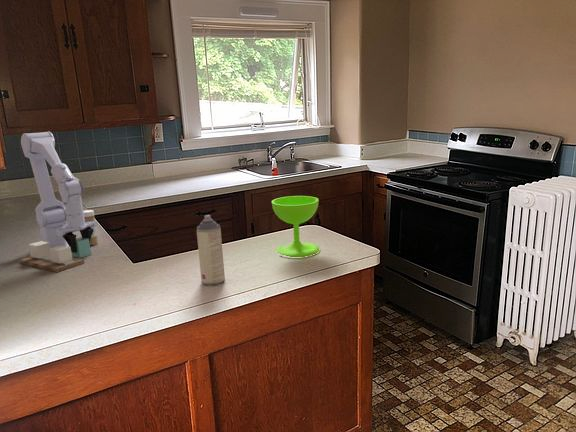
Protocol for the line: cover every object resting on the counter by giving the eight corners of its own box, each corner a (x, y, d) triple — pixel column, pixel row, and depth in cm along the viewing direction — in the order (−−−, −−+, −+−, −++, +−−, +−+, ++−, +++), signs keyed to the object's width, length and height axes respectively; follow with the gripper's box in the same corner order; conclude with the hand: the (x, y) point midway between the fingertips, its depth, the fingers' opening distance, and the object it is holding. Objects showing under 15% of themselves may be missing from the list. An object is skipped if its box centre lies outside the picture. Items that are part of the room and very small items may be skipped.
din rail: (29, 257, 166) (29, 255, 166) (39, 254, 169) (39, 252, 169) (65, 265, 155) (64, 263, 155) (74, 262, 158) (74, 260, 158)
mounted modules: (31, 256, 164) (28, 244, 163) (43, 252, 168) (41, 241, 167) (60, 263, 155) (58, 250, 154) (72, 259, 159) (70, 246, 158)
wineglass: (265, 251, 163) (262, 201, 159) (299, 241, 173) (297, 194, 169) (294, 262, 151) (292, 207, 147) (329, 250, 161) (328, 199, 157)
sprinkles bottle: (88, 242, 185) (83, 210, 182) (100, 242, 185) (95, 209, 182) (84, 246, 180) (79, 212, 177) (96, 245, 181) (91, 211, 178)
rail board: (20, 262, 164) (20, 259, 163) (47, 254, 172) (47, 251, 172) (57, 272, 152) (56, 268, 152) (84, 262, 160) (84, 259, 160)
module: (71, 256, 169) (69, 240, 167) (82, 252, 172) (80, 237, 171) (80, 258, 166) (77, 241, 165) (91, 254, 170) (88, 238, 168)
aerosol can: (214, 275, 142) (209, 211, 137) (229, 280, 138) (224, 214, 133) (196, 282, 137) (190, 216, 133) (211, 287, 133) (205, 219, 128)
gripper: (62, 219, 158) (69, 257, 161) (99, 210, 169) (104, 246, 173) (50, 217, 161) (57, 254, 164) (87, 208, 173) (92, 243, 176)
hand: (80, 250), depth 169 cm, fingers closed on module, 4 cm apart
